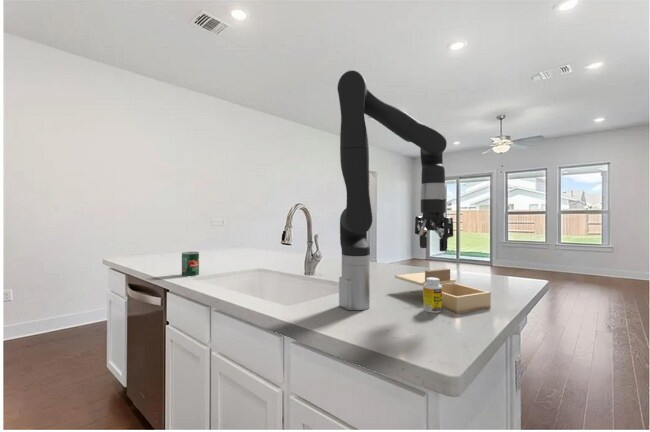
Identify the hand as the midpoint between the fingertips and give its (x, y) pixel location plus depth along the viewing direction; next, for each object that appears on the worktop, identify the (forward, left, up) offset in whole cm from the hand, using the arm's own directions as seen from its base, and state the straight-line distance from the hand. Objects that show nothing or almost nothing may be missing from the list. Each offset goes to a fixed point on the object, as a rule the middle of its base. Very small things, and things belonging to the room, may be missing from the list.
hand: (432, 249), depth 103 cm
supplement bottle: (0, 0, -20) cm, 20 cm away
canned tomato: (-67, +93, -20) cm, 116 cm away
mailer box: (+12, +2, -19) cm, 23 cm away
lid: (+12, +17, -14) cm, 25 cm away
